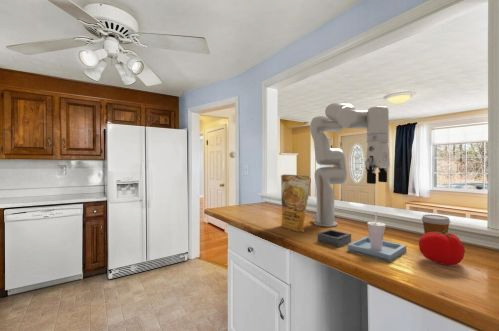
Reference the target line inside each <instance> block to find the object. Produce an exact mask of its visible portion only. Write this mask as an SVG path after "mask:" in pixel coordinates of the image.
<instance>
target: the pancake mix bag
mask: <svg viewBox="0 0 499 331" xmlns="http://www.w3.org/2000/svg"><path fill="white" fill-rule="evenodd" d="M280 179H281V180H280V181H281V182H280V183H281V184H280V185H281V187H280V188H281V196H280V197H281V198H280V200H281V226H282V228H284V229H287V230H291V231H293V232H297V233H299V232H302V233H305V230H304V224H305V223H304V222H305V220H306V219H305V218H306V210H307V206H308V205H307V204H308V199H309V194H310V188H311V187H310V186H311V182H312V181H311V177H310V176H308V175H297V174H281V175H280Z"/></svg>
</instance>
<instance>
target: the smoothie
mask: <svg viewBox="0 0 499 331" xmlns="http://www.w3.org/2000/svg"><path fill="white" fill-rule="evenodd" d="M374 214H375V215H374V218H375V219H374V221H368V222H367V225H366V227H367V226H368V234H369V236H368V237H370V244H371V249H374V250H382V244H383V240H384V236H385V228H386V227H387V226H386V223H383V222H379V221H377V220H378V216H377V215H378V213H377V211H375V212H374Z"/></svg>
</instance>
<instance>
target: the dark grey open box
mask: <svg viewBox="0 0 499 331" xmlns="http://www.w3.org/2000/svg"><path fill="white" fill-rule="evenodd" d="M316 239H317V242H318V243H322V244H325V245H329V246H332V247H335V248H340V247H343V246H345V245H348V244H349V243H352V233H347V232H344V231H339V230H335V229H331V228H330V229H327V230H324V231H322V232H319V233H317V238H316Z"/></svg>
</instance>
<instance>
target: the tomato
mask: <svg viewBox="0 0 499 331" xmlns="http://www.w3.org/2000/svg"><path fill="white" fill-rule="evenodd" d="M418 248H419V251H420V253H421V255H423V257H425V259H427V260H428V261H431V262H434V263H436V264H438V265H439V264H440V265H445V266H456V265H458V264H460V263H461V261H462V260H464V256H465V254H466V253H465V251H466V250H465V246H464V244H463V242H462V241H461V240H460V238H459V237H458V236H457V235H455V234H453V233H451V232H448V233H445V231H443V232H442V233H440V232H432V231H431V232H428V233H423V234H422V236H420V237H419V240H418Z"/></svg>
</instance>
